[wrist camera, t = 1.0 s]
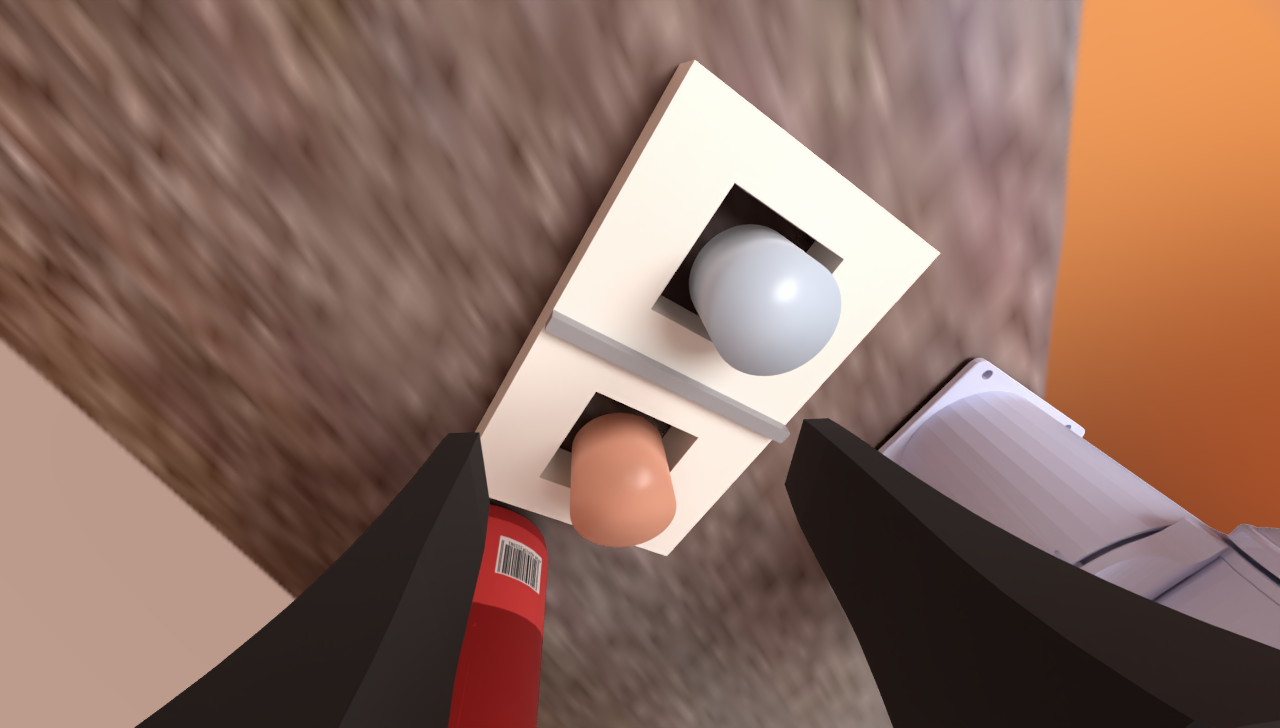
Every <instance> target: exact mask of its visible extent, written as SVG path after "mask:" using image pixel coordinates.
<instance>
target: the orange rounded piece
mask: <svg viewBox="0 0 1280 728" xmlns="http://www.w3.org/2000/svg"><path fill="white" fill-rule="evenodd" d="M675 513H676V498H675V494H674V489H673V485H672V480H671V476H670V472H669V467H668V463H667V458H666V454H665V450H664V445H663V441H662V437H661V434H660V433H659V431H658V429H657V428H656V427H655V426H654V425H653V424H652V423H651V422H649V421H648V420H647V419H645V418H643V417H640V416H638V415H634V414H630V413H611V414H606V415H602V416H599V417H597V418H595V419H593V420H591V421H589V422H588V423H587V424H585V425H584V426H583V427H582V428H581V429H580V430H579V432H578V433H577V434H576V436H575V438H574V441H573V444H572V458H571V490H570V519H571V522H572V525H573V526H574V528H575V529H576V531H577V532H578V533H579V534H580V535H581V536H582V537H584V538H585V539H587V540H589V541H591V542H593V543H596V544H599V545H602V546H608V547H629V546H634V545H638V544H642V543H644V542H647V541H649V540H651V539H653V538H655V537H656V536H658V535H659V534H661V533H662V532H663V531H664V530H665V529H666V528H667V527H668V526H669V525H670V523H671V522H672V520H673V518H674V516H675Z"/></svg>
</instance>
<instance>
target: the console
mask: <svg viewBox="0 0 1280 728" xmlns="http://www.w3.org/2000/svg"><path fill="white" fill-rule="evenodd" d="M734 184H735V185H737V186H738V187H739V188H741V189H742V190H744V191H745V192H747V193H748V194H749V195H751V196H752V197H754V198H755V199H757V200H758V201H759V202H761V203H762V204H764V205H765V206H767V207H768V208H769V209H771V210H772V211H774V212H775V213H777V214H778V215H779V216H781V217H782V218H784V219H785V220H787V221H788V222H789V223H791V224H792V225H794V226H795V227H797V228H798V229H799V230H801V231H802V232H804V233H805V234H807V235H808V236H809V237H811V238H812V239H814V240H815V242H814V243H813V244H812V246H811V247H810V248H809V250H808V251H807V252H806V253H807V254H808V255H809V256H811V257H812V258H814V259H815V260H816V261H818V262H819V263H820V264H822V265H823V266H824V267H825V268H827V269H828V270H829V272H830V273H831V274H832V275H833V277H834V278H835V280H836V282H837V284H838V287H839V290H840V294H841V314H840V319H839V322H838V325H837V327H836V329H835V332H834V334H833V335H832V337H831V339H830V340H829V342H828V343H827V344H826V345H825V347H824V348H823V349H822V350H821V351H820V352H819V353H818V354H817V355H816V356H815V357H814V358H812V359H811V360H810V361H808V362H807V363H805V364H804V365H802V366H800V367H798V368H796V369H794V370H792V371H789V372H786V373H783V374H779V375H774V376H755V375H749V374H746V373H743V372H740V371H738V370H736V369H734V368H733V367H731V366H730V365H729V364H728V363H726V362H725V361H724V360H723V358H722V357H721V356H720V354H719V353H718V351H717V349H716V348H715V346H714V344H713V342H712V340H711V338H710V336H709V334H708V332H707V330H706V328H705V326H704V324H703V322H702V320H701V318H700V317H699V316H698V315H696V314H694V313H692V312H690V311H689V310H687V309H685V308H683V307H682V306H680V305H678V304H676V303H674V302H673V301H671V300H669V299H667V298H665V297H664V296H662V295H661V293H662V292H663V290H664V289H665V287H666V286H667V284H668V283H669V281H670V279H671V278H672V276H673V275H674V273H675V272H676V270H677V269H678V267H679V266H680V264H681V263H682V261H683V260H684V258H685V257H686V255H687V254H688V252H689V251H690V249H691V248H692V246H693V245H694V243H695V242H696V240H697V239H698V237H699V236H700V234H701V233H702V231H703V230H704V228H705V227H706V225H707V224H708V222H709V221H710V219H711V218H712V216H713V215H714V213H715V212H716V210H717V209H718V207H719V206H720V204H721V203H722V201H723V200H724V198H725V197H726V195H727V194H728V192H729V191H730V189H731V188H732V186H733V185H734ZM939 254H940V253H939V252H938V251H937V250H936V249H934V248H933V247H932V246H931V245H929V244H928V243H927V242H926V241H924V240H923V239H922V238H920V237H919V236H918V235H917V234H915V233H914V232H913V231H912V230H910V229H909V228H908V227H906V226H905V225H904V224H903V223H901V222H900V221H899V220H898V219H896V218H895V217H894V216H892V215H891V214H890V213H889V212H887V211H886V210H885V209H884V208H882V207H881V206H880V205H879V204H877V203H876V202H875V201H873V200H872V199H871V198H870V197H868V196H867V195H866V194H865V193H863V192H862V191H861V190H859V189H858V188H857V187H856V186H854V185H853V184H852V183H851V182H849V181H848V180H847V179H845V178H844V177H843V176H842V175H840V174H839V173H838V172H837V171H835V170H834V169H833V168H832V167H830V166H829V165H828V164H826V163H825V162H824V161H823V160H821V159H820V158H819V157H818V156H816V155H815V154H814V153H812V152H811V151H810V150H809V149H807V148H806V147H805V146H804V145H802V144H801V143H800V142H798V141H797V140H796V139H795V138H793V137H792V136H791V135H790V134H788V133H787V132H786V131H785V130H783V129H782V128H781V127H779V126H778V125H777V124H776V123H774V122H773V121H772V120H771V119H769V118H768V117H767V116H765V115H764V114H763V113H762V112H760V111H759V110H758V109H757V108H755V107H754V106H753V105H752V104H750V103H749V102H748V101H746V100H745V99H744V98H743V97H741V96H740V95H739V94H738V93H736V92H735V91H734V90H732V89H731V88H730V87H729V86H727V85H726V84H725V83H724V82H722V81H721V80H720V79H718V78H717V77H716V76H715V75H713V74H712V73H711V72H710V71H708V70H707V69H706V68H705V67H703V66H702V65H701V64H699V63H698V62H697V61H696V60H692V61H689V62H685V63H681V64H679V66H678V68H677V70H676V71H675V73H674V75H673V77H672V79H671V80H670V82H669V84H668V86H667V88H666V89H665V91H664V93H663V95H662V97H661V98H660V100H659V102H658V104H657V105H656V107H655V109H654V111H653V113H652V114H651V116H650V118H649V120H648V122H647V123H646V125H645V127H644V129H643V131H642V132H641V134H640V136H639V138H638V140H637V141H636V143H635V145H634V147H633V149H632V150H631V152H630V154H629V156H628V158H627V159H626V161H625V163H624V165H623V167H622V168H621V170H620V172H619V174H618V176H617V177H616V179H615V181H614V183H613V185H612V186H611V188H610V190H609V192H608V194H607V195H606V197H605V199H604V201H603V202H602V204H601V206H600V208H599V210H598V211H597V213H596V215H595V217H594V219H593V220H592V222H591V224H590V226H589V228H588V229H587V231H586V233H585V235H584V237H583V238H582V240H581V242H580V244H579V246H578V247H577V249H576V251H575V253H574V255H573V256H572V258H571V260H570V262H569V264H568V265H567V267H566V269H565V271H564V273H563V274H562V276H561V278H560V280H559V282H558V283H557V285H556V287H555V289H554V291H553V292H552V294H551V296H550V298H549V299H548V301H547V303H546V305H545V307H544V308H543V310H542V312H541V314H540V316H539V317H538V319H537V321H536V323H535V325H534V326H533V328H532V330H531V332H530V334H529V335H528V337H527V339H526V341H525V343H524V344H523V346H522V348H521V350H520V352H519V353H518V355H517V357H516V359H515V361H514V362H513V364H512V366H511V368H510V370H509V371H508V373H507V375H506V377H505V379H504V380H503V382H502V384H501V386H500V388H499V389H498V391H497V393H496V395H495V396H494V398H493V400H492V402H491V404H490V405H489V407H488V409H487V411H486V413H485V414H484V416H483V418H482V420H481V422H480V423H479V425H478V427H477V429H476V431H475V432H479V433H480V439H481V446H482V453H483V459H484V466H485V473H486V479H487V486H488V493H489V497H490V498H493V499H496V500H499V501H502V502H505V503H508V504H511V505H514V506H517V507H520V508H523V509H526V510H529V511H532V512H535V513H538V514H541V515H544V516H547V517H550V518H553V519H556V520H559V521H562V522H565V523H568V524H571V525H572V522H571V519H570V490H571V458H572V453H571V452H569V451H566V450H563V449H561V448H559V447H560V445H561V444H562V442H563V441H564V439H565V438H566V436H567V435H568V433H569V432H570V430H571V429H572V427H573V426H574V424H575V423H576V421H577V420H578V418H579V417H580V415H581V413H582V412H583V410H584V409H585V407H586V406H587V404H588V403H589V401H590V400H591V398H592V397H593V395H594V394H595V392H598V393H600V394H603V395H605V396H607V397H609V398H612V399H614V400H616V401H618V402H620V403H623V404H625V405H627V406H629V407H632V408H634V409H636V410H638V411H641V412H643V413H645V414H647V415H649V416H652V417H654V418H656V419H658V420H661V421H663V422H665V423H667V424H670V425H672V426H671V428H670V429H669V430H668V431H667V433H666V434H665V435H664V437H663V438H662V441H663V445H664V450H665V454H666V458H667V463H668V467H669V472H670V476H671V480H672V485H673V489H674V494H675V498H676V513H675V516H674V518H673V520H672V522H671V523H670V525H669V526H668V527H667V528H666V529H665V530H664V531H663V532H662V533H661V534H659V535H658V536H656V537H655V538H653V539H651V540H649V541H647V542H644V543H642V544H638V545H635V546H638V547H641V548H644V549H647V550H650V551H653V552H656V553H659V554H662V555H665V556H667V555H668V554H669V553H670V552H671V551H672V550H673V549H674V548H675V547H676V545H677V544H678V543H679V542H680V541H681V540H682V539H683V538H684V537H685V535H686V534H687V533H688V532H689V531H690V530H691V529H692V528H693V527H694V525H695V524H696V523H697V522H698V521H699V520H700V519H701V518H702V517H703V516H704V514H705V513H706V512H707V511H708V510H709V509H710V508H711V507H712V506H713V504H714V503H715V502H716V501H717V500H718V499H719V498H720V497H721V496H722V494H723V493H724V492H725V491H726V490H727V489H728V488H729V487H730V486H731V485H732V483H733V482H734V481H735V480H736V479H737V478H738V477H739V476H740V475H741V473H742V472H743V471H744V470H745V469H746V468H747V467H748V466H749V465H750V463H751V462H752V461H753V460H754V459H755V458H756V457H757V456H758V455H759V453H760V452H761V451H762V450H763V449H764V448H765V447H766V446H767V445H768V444H769V442H770V441H771V440H774V441H776V442H779V443H781V444H782V442H783V441H784V440H785V439H786V438H787V437H788V436H789V435H790V432H789V431H788V429H787V427H786V426H785V425H786V424H787V422H788V421H789V420H790V419H791V418H792V417H793V416H794V415H795V414H796V412H797V411H798V410H799V409H800V408H801V407H802V406H803V405H804V404H805V403H806V401H807V400H808V399H809V398H810V397H811V396H812V395H813V394H814V393H815V391H816V390H817V389H818V388H819V387H820V386H821V385H822V384H823V383H824V381H825V380H826V379H827V378H828V377H829V376H830V375H831V374H832V373H833V372H834V370H835V369H836V368H837V367H838V366H839V365H840V364H841V363H842V362H843V360H844V359H845V358H846V357H847V356H848V355H849V354H850V353H851V352H852V350H853V349H854V348H855V347H856V346H857V345H858V344H859V343H860V342H861V340H862V339H863V338H864V337H865V336H866V335H867V334H868V333H869V332H870V331H871V329H872V328H873V327H874V326H875V325H876V324H877V323H878V322H879V321H880V319H881V318H882V317H883V316H884V315H885V314H886V313H887V312H888V311H889V309H890V308H891V307H892V306H893V305H894V304H895V303H896V302H897V301H898V300H899V298H900V297H901V296H902V295H903V294H904V293H905V292H906V291H907V290H908V288H909V287H910V286H911V285H912V284H913V283H914V282H915V281H916V280H917V278H918V277H919V276H920V275H921V274H922V273H923V272H924V271H925V270H926V268H927V267H928V266H929V265H930V264H931V263H932V262H933V261H934V260H935V259H936V257H937V256H938V255H939ZM475 432H474V433H475Z"/></svg>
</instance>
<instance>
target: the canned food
mask: <svg viewBox="0 0 1280 728" xmlns="http://www.w3.org/2000/svg"><path fill="white" fill-rule="evenodd" d="M547 572H548V554H547V549H546V545H545V541H544V537H543V535H542V534H541V532H540V530H539V529H538V528H537V527H536V526H535V525H534V524H533V523H532V522H531V521H529V520H528V519H526V518H525V517H523V516H522V515H520V514H517V513H515V512H513V511H511V510H509V509H505V508H502V507H499V506H496V505H491V504H490V506H489V516H488V525H487V534H486V542H485V549H484V554H483V558H482V563H481V567H480V571H479V576H478V580H477V584H476V589H475V593H474V597H473V601H472V606H471V610H470V614H469V618H468V623H467V627H466V631H465V636H464V640H463V644H462V648H461V653H460V657H459V662H458V667H457V672H456V677H455V682H454V689H453V696H452V703H451V710H450V717H449V724H448V728H537V714H538V700H539V686H540V671H541V657H542V643H543V629H544V614H545V600H546V586H547Z"/></svg>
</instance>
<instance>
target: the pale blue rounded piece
mask: <svg viewBox="0 0 1280 728" xmlns="http://www.w3.org/2000/svg"><path fill="white" fill-rule="evenodd" d="M689 292H690V296H691V300H692V302H693V305H694V307H695V309H696V311H697V312H698V314H699V316H700V318H701V320H702V322H703V324H704V326H705V328H706V330H707V332H708V334H709V336H710V338H711V340H712V342H713V344H714V346H715V348H716V349H717V351H718V353H719V354H720V356H721V357H722V358H723V360H724V361H725V362H726V363H728V364H729V365H730V366H731V367H733V368H734V369H736V370H738V371H740V372H743V373H746V374H749V375H755V376H774V375H779V374H783V373H786V372H789V371H792V370H794V369H796V368H798V367H800V366H802V365H804V364H805V363H807V362H808V361H810V360H811V359H812V358H814V357H815V356H816V355H817V354H818V353H819V352H820V351H821V350H822V349H823V348H824V347H825V345H826V344H827V343H828V342H829V340H830V339H831V337H832V335H833V334H834V332H835V329H836V327H837V325H838V322H839V319H840V314H841V294H840V290H839V287H838V284H837V282H836V280H835V278H834V277H833V275H832V274H831V273H830V272H829V270H828V269H827V268H825V267H824V266H823V265H822V264H820V263H819V262H818V261H816V260H815V259H814V258H812V257H811V256H809V255H808V254H807V253H805V252H804V251H803V250H801V249H800V248H799V247H797V246H796V245H794V244H793V243H792V242H790V241H789V240H788V239H786V238H785V237H784V236H782V235H781V234H780V233H778V232H777V231H775V230H773V229H771V228H769V227H766V226H762V225H756V224H745V225H739V226H735V227H732V228H729V229H727V230H724V231H722V232H721V233H719V234H717V235H716V236H715V237H713V238H712V239H711V240H710V241H709V242H708V243H707V244H706V245H705V246H704V247H703V248H702V249H701V251H700V252H699V253H698V255H697V257H696V259H695V261H694V263H693V265H692V268H691V272H690V277H689Z"/></svg>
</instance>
